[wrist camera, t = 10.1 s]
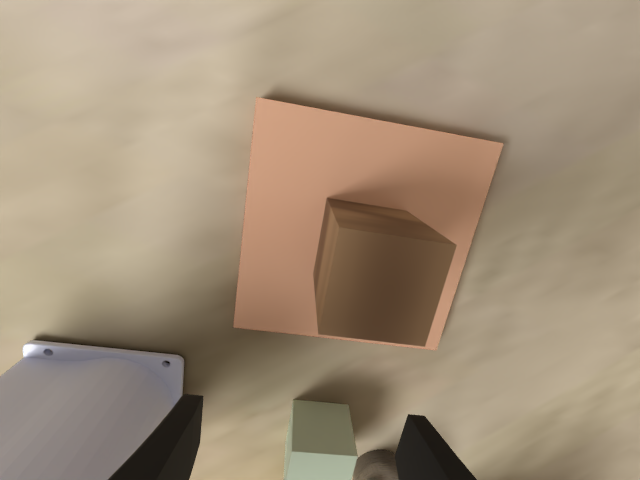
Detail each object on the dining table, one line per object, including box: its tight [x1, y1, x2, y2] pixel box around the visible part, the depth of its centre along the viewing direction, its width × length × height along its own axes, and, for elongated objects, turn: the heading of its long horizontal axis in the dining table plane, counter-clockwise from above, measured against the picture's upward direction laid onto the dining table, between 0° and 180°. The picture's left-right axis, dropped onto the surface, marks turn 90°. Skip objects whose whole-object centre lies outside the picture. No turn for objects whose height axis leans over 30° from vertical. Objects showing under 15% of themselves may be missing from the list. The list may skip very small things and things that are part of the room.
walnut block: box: [313, 198, 457, 347], centre depth 15 cm, size 4×4×6 cm
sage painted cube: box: [284, 399, 358, 480], centre depth 21 cm, size 4×4×4 cm
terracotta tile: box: [233, 97, 504, 350], centre depth 18 cm, size 13×13×1 cm
